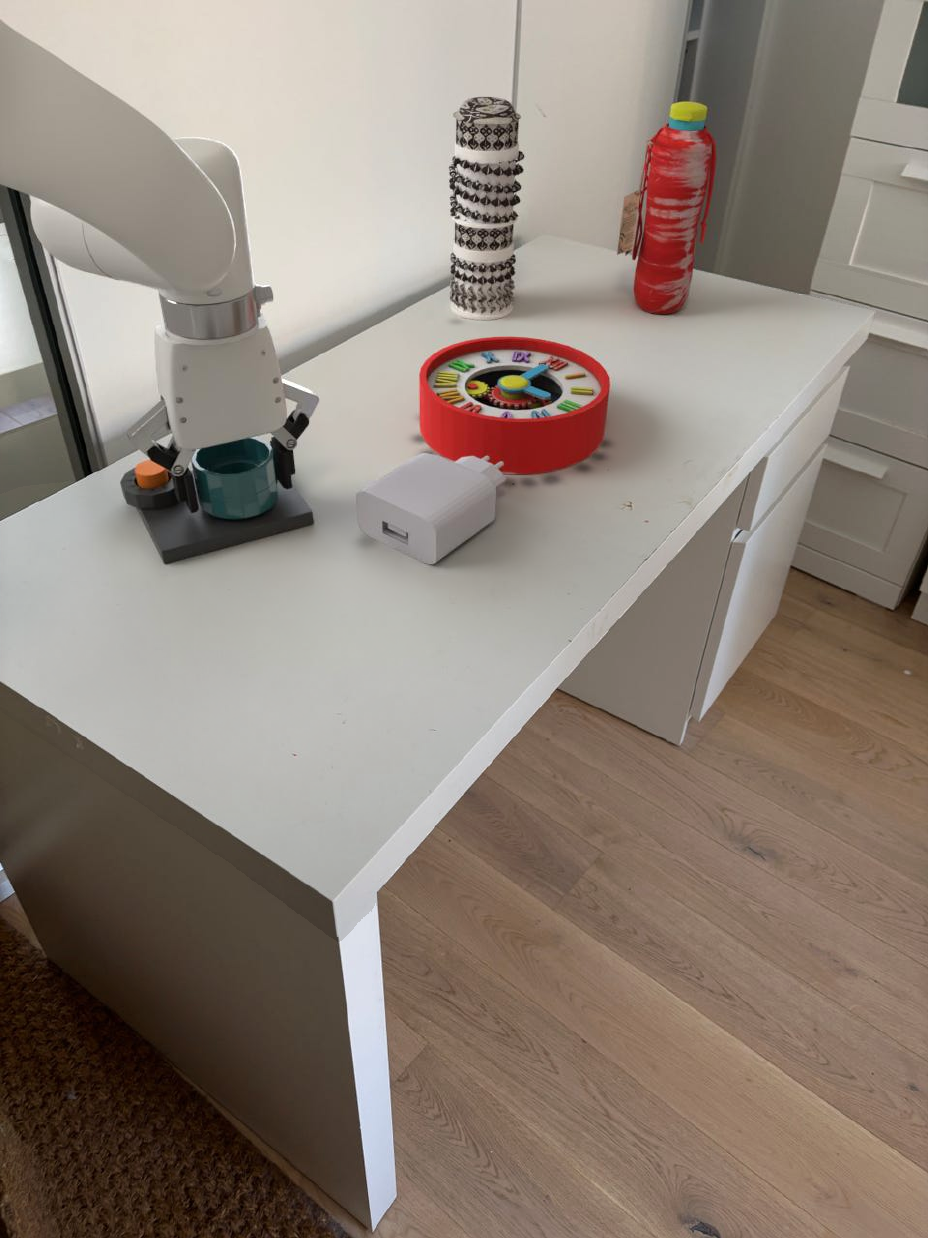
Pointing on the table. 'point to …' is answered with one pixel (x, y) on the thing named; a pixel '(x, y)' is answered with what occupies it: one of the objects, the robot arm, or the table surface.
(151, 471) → the button
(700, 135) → the water bottle
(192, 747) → the table surface
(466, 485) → the charger
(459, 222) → the decorative candle
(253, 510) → the bowl
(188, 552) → the dark grey flat slab
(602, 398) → the toy clock
